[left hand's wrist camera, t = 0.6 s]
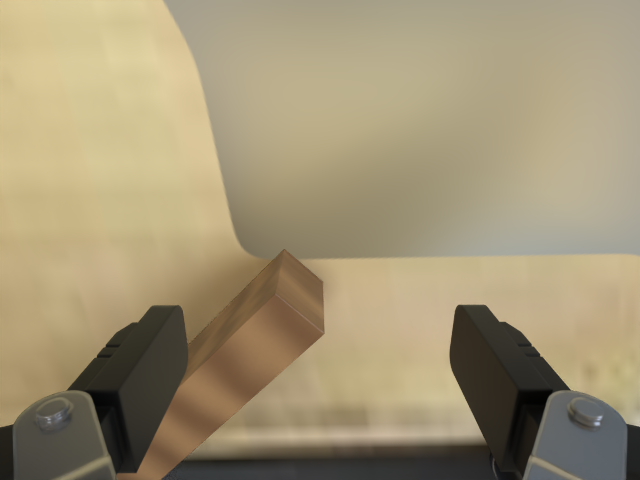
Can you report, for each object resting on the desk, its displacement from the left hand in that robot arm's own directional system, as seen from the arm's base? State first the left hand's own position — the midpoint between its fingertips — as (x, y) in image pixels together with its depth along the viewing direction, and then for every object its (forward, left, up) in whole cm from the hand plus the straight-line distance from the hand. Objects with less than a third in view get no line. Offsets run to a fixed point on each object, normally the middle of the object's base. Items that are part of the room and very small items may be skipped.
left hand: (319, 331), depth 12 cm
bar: (-10, +17, -23) cm, 30 cm away
